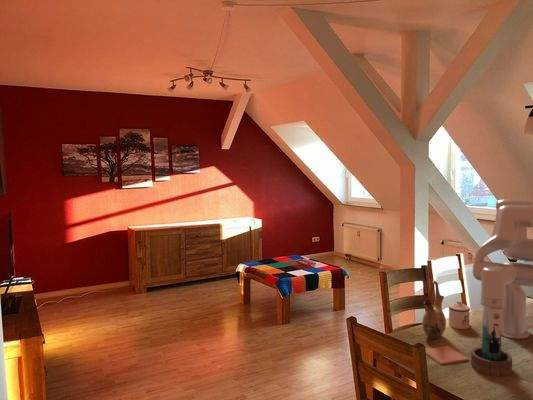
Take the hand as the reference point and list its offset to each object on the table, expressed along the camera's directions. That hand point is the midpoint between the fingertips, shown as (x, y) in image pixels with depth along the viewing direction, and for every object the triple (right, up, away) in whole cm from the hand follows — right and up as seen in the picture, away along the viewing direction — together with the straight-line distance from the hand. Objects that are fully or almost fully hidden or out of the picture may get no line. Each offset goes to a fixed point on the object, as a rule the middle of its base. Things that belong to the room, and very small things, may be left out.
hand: (491, 348), depth 158 cm
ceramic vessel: (-10, -5, +29) cm, 31 cm away
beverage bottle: (0, -7, +1) cm, 7 cm away
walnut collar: (0, -7, 0) cm, 7 cm away
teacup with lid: (+7, -4, +42) cm, 43 cm away
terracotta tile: (-13, -7, +11) cm, 18 cm away
